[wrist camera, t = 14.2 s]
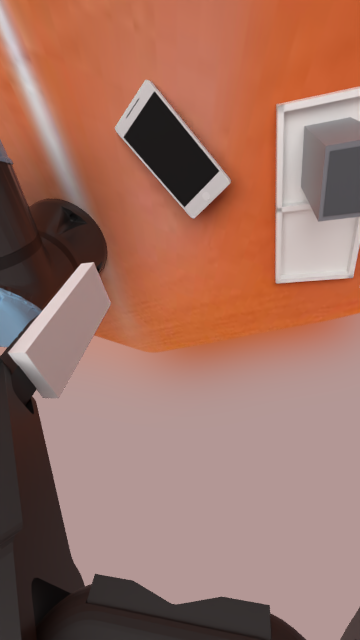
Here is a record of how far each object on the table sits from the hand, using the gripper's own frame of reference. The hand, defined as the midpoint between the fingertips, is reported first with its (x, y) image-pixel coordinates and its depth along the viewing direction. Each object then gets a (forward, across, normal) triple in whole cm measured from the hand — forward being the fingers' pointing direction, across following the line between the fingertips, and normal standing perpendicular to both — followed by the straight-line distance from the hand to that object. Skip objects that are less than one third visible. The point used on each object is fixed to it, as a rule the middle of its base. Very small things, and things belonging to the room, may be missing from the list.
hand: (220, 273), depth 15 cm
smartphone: (+30, -3, -6) cm, 31 cm away
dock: (+32, +11, -8) cm, 35 cm away
